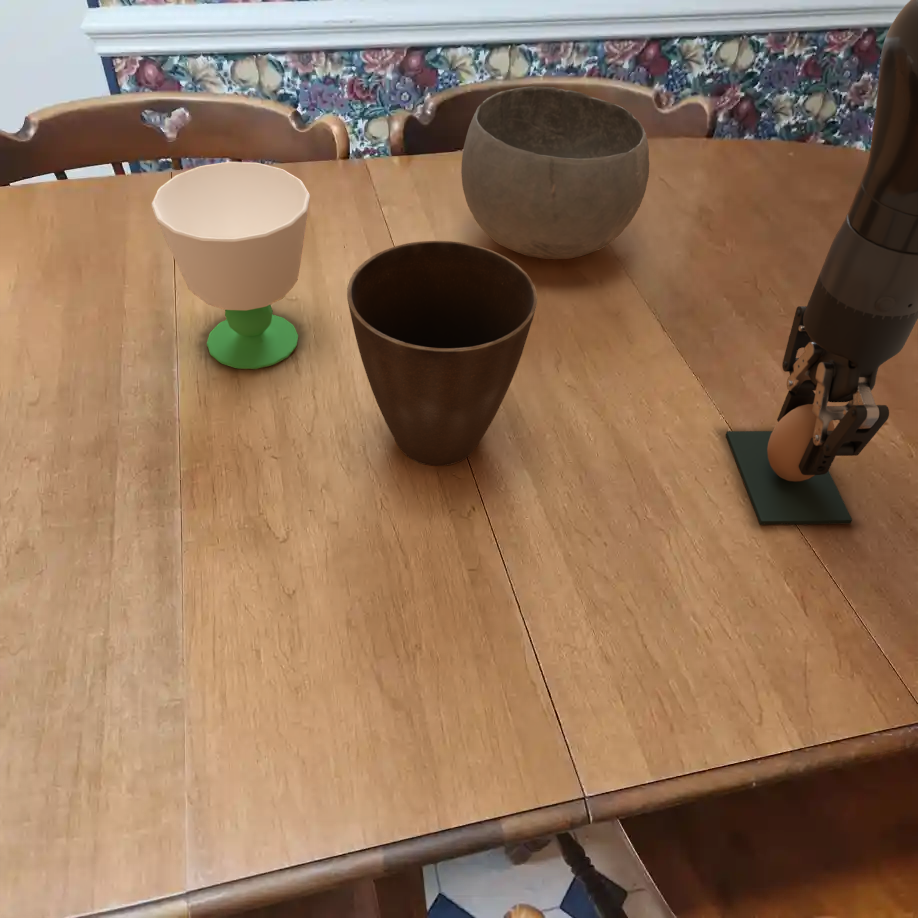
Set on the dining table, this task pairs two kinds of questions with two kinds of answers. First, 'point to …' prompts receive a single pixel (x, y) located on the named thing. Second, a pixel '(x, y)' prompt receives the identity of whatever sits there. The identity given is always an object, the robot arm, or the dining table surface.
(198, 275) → the cup
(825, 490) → the mat
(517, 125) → the bowl
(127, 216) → the dining table surface
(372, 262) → the flower pot
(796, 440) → the egg
